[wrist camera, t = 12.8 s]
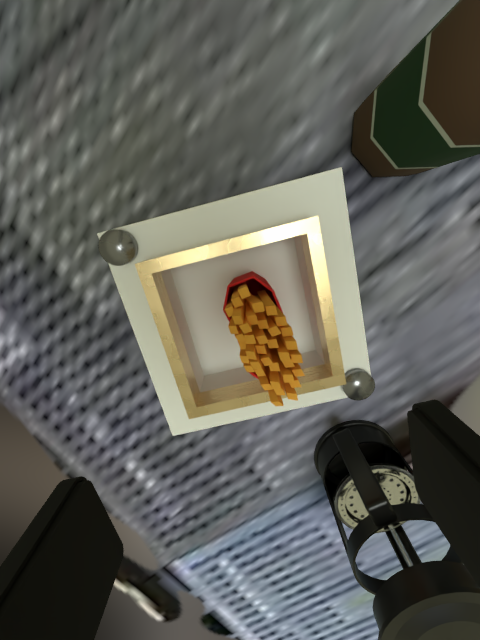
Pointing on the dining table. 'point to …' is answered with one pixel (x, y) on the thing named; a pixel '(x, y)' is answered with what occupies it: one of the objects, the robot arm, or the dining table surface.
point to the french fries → (263, 336)
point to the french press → (395, 540)
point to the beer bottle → (426, 102)
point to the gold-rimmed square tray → (210, 290)
